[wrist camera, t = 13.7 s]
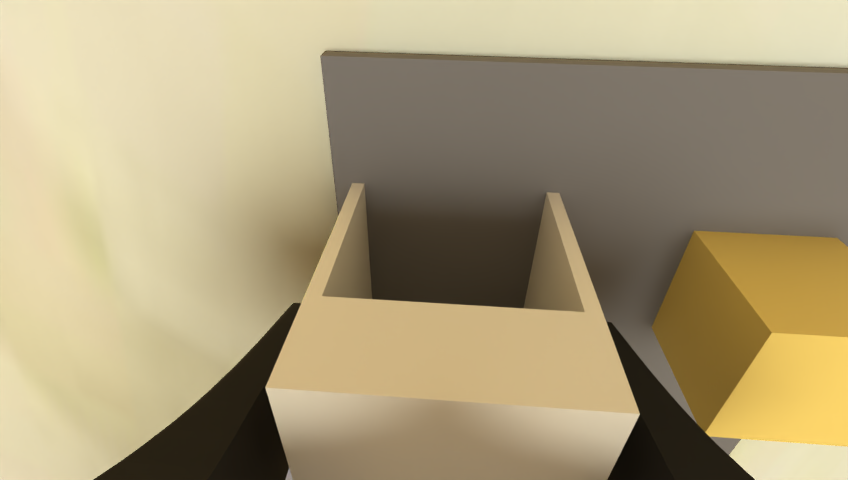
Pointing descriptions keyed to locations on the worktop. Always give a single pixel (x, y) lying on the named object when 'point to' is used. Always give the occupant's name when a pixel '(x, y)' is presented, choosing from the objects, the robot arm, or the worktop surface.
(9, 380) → the worktop surface
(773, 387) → the cube
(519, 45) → the worktop surface
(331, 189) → the worktop surface
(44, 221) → the worktop surface
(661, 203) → the mat
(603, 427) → the box
